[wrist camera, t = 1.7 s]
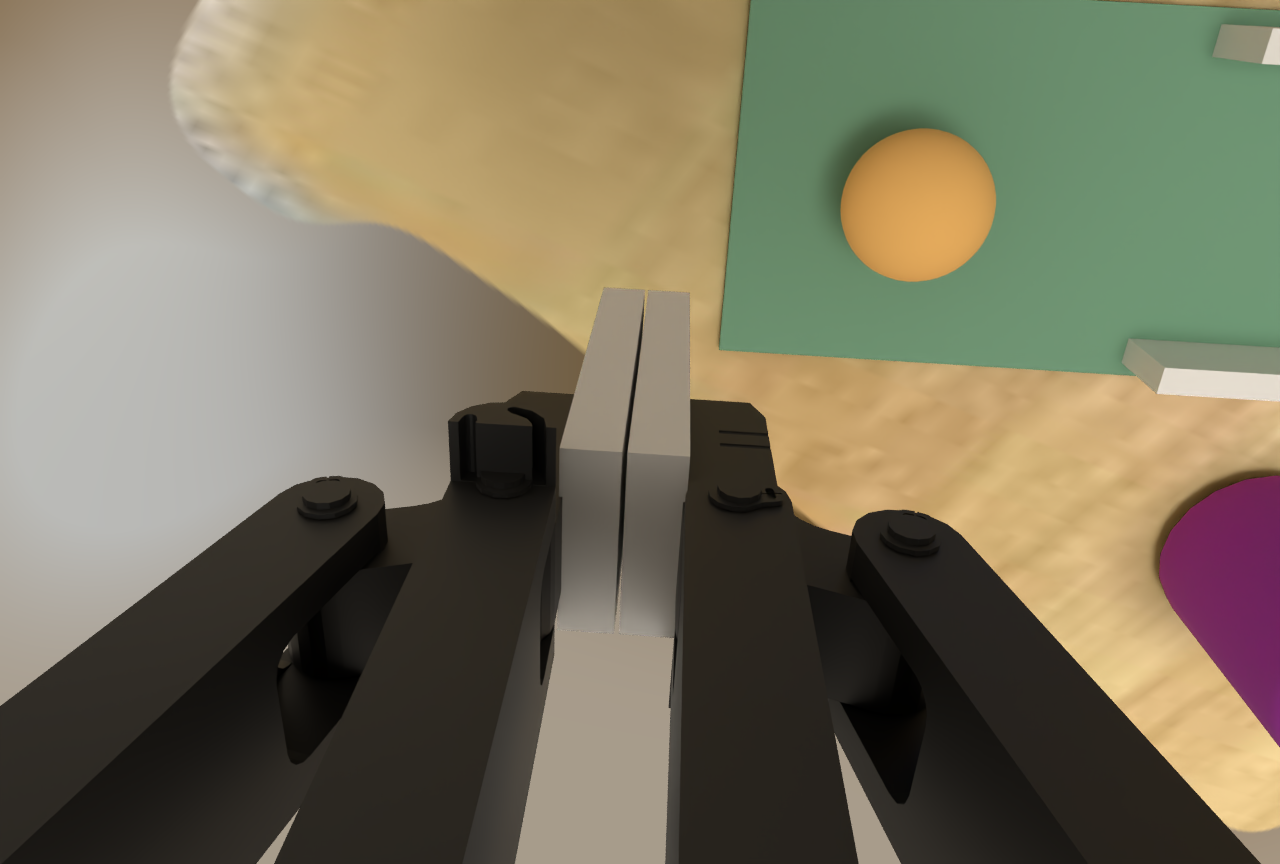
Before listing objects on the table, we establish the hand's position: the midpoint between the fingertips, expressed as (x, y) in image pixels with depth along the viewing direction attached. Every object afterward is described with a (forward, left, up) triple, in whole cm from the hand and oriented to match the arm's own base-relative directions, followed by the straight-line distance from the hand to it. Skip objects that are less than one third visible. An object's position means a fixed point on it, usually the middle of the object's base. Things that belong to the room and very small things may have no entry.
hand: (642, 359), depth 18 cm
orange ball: (-9, 0, -16) cm, 18 cm away
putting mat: (-16, 0, -18) cm, 24 cm away
